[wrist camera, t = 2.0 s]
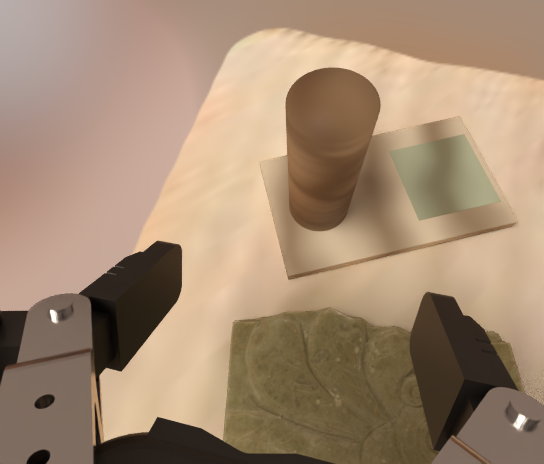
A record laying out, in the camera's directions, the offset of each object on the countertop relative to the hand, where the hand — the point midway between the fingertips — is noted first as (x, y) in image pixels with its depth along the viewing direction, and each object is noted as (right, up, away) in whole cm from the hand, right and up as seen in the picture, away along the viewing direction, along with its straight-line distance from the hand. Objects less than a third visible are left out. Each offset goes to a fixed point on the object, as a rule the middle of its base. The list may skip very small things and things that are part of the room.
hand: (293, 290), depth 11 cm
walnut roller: (+3, +4, +18) cm, 19 cm away
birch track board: (+9, +5, +19) cm, 22 cm away
